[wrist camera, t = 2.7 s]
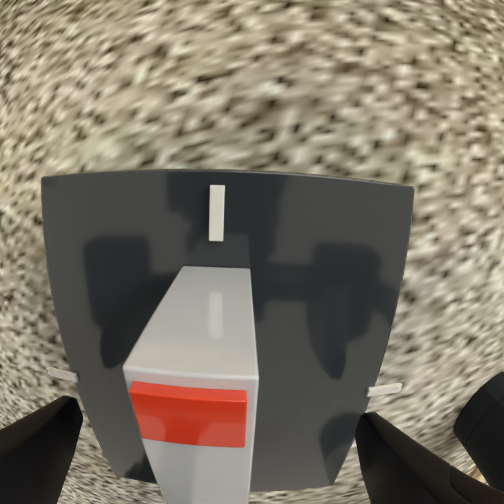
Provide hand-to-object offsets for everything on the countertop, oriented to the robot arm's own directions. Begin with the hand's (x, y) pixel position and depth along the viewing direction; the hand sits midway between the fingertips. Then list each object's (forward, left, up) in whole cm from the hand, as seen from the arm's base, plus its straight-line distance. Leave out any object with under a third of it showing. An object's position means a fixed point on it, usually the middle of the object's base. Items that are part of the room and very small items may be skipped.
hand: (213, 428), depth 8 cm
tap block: (0, 0, -4) cm, 5 cm away
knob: (0, 0, -1) cm, 1 cm away
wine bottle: (-7, -19, -5) cm, 21 cm away
